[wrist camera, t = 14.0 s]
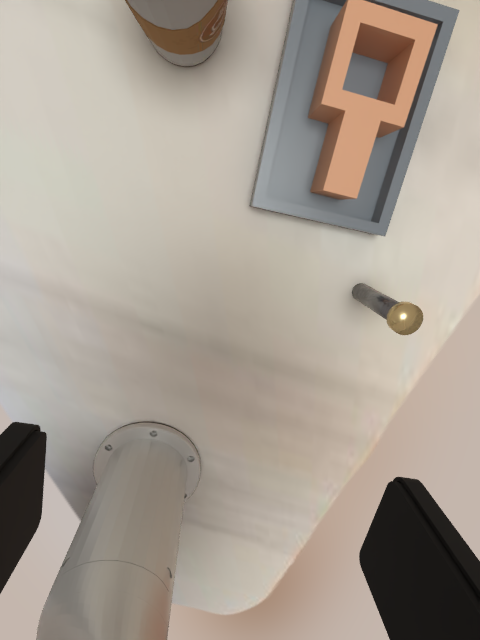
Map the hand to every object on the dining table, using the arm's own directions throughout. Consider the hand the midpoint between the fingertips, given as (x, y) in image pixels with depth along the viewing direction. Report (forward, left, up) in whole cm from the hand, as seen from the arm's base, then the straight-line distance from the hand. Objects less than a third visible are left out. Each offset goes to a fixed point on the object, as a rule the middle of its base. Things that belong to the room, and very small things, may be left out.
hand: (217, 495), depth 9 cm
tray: (+17, -8, -28) cm, 34 cm away
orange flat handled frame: (+17, -8, -27) cm, 33 cm away
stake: (+2, -15, -28) cm, 32 cm away
